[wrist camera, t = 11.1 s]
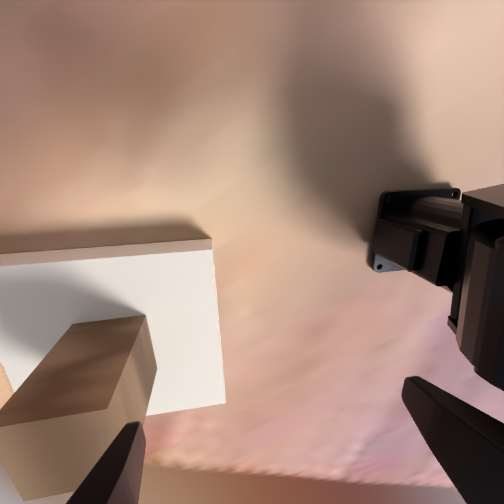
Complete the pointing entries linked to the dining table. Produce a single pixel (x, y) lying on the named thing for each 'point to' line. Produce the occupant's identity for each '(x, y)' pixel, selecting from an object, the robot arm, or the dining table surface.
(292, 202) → the dining table surface
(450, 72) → the dining table surface
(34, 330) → the base block
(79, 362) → the walnut block
